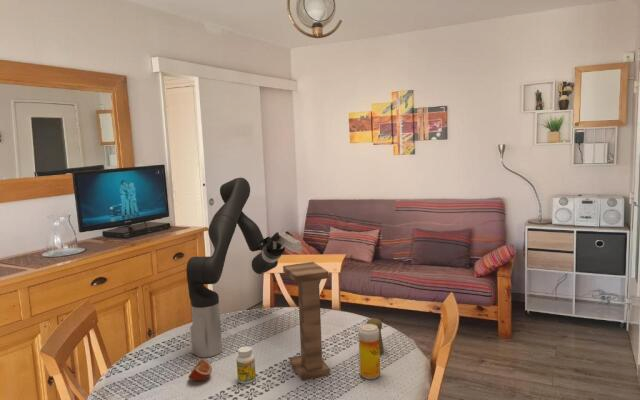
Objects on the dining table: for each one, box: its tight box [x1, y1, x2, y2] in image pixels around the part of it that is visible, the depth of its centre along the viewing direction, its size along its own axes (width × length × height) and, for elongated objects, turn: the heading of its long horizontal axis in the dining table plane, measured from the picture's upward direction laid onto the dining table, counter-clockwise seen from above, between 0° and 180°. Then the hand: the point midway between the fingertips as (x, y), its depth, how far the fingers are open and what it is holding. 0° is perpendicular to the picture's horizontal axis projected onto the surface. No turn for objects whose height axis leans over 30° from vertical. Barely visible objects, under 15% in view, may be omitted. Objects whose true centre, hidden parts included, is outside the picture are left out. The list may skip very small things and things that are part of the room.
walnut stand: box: [282, 261, 331, 382], centre depth 145 cm, size 13×10×32 cm
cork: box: [365, 318, 385, 356], centre depth 156 cm, size 6×6×11 cm
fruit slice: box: [188, 357, 213, 382], centre depth 143 cm, size 8×7×5 cm
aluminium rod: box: [274, 231, 303, 253], centre depth 158 cm, size 20×3×3 cm, turn 21°
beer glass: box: [358, 323, 381, 380], centre depth 140 cm, size 6×6×15 cm
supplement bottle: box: [235, 345, 257, 385], centre depth 141 cm, size 5×5×10 cm
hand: (283, 234), depth 163 cm, fingers closed on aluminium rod, 3 cm apart
